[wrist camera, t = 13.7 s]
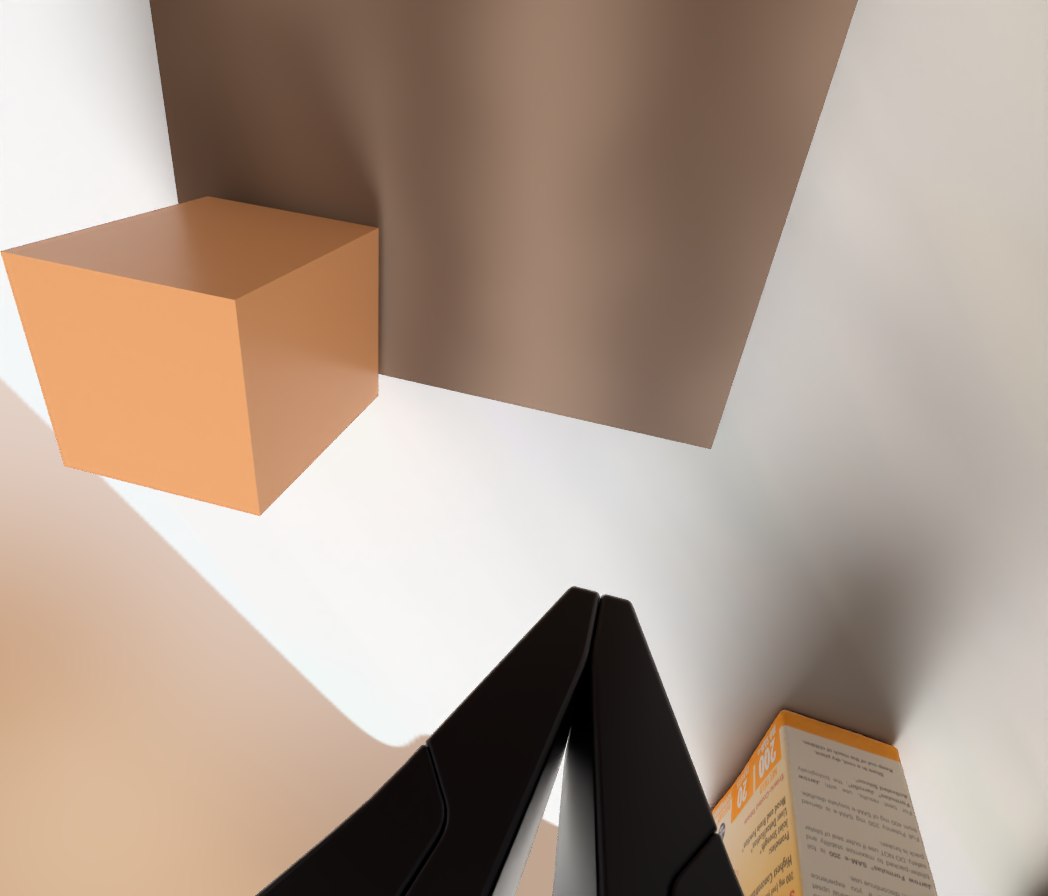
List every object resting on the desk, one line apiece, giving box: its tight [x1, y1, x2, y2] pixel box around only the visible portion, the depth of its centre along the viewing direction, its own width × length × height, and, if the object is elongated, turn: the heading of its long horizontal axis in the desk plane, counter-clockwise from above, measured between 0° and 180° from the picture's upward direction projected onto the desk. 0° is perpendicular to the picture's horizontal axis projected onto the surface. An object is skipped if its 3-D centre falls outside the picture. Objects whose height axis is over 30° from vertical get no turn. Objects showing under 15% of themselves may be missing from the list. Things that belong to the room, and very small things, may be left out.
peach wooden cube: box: [1, 196, 379, 516], centre depth 17 cm, size 5×5×7 cm
